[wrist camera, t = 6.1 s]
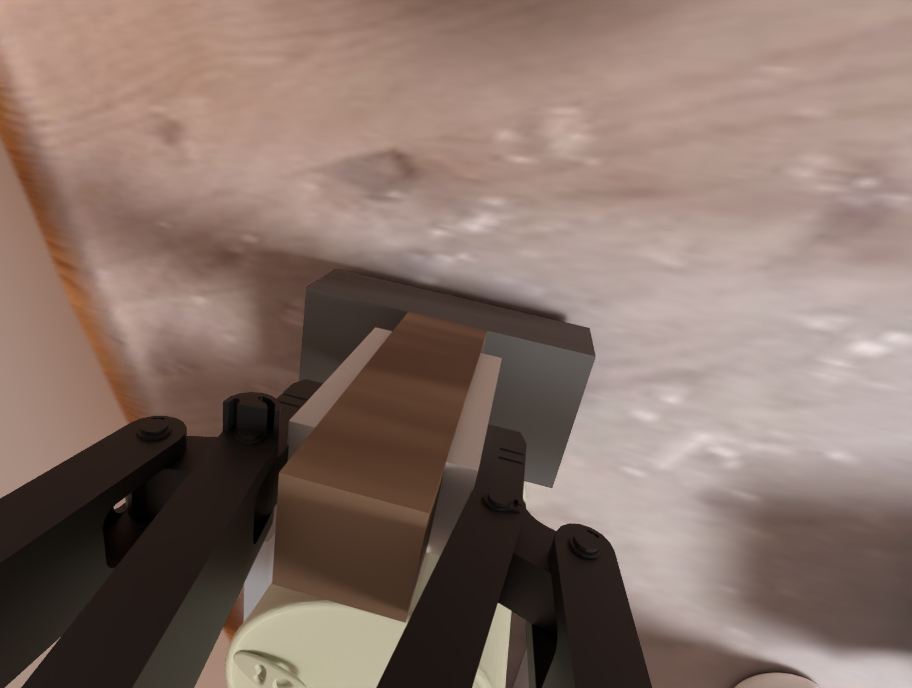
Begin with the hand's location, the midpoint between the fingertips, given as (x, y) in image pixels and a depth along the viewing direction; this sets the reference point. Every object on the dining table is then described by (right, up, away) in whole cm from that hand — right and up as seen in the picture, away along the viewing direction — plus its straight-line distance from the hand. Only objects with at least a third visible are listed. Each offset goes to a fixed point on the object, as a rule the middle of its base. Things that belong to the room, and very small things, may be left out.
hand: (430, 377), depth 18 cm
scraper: (+1, 0, +5) cm, 5 cm away
